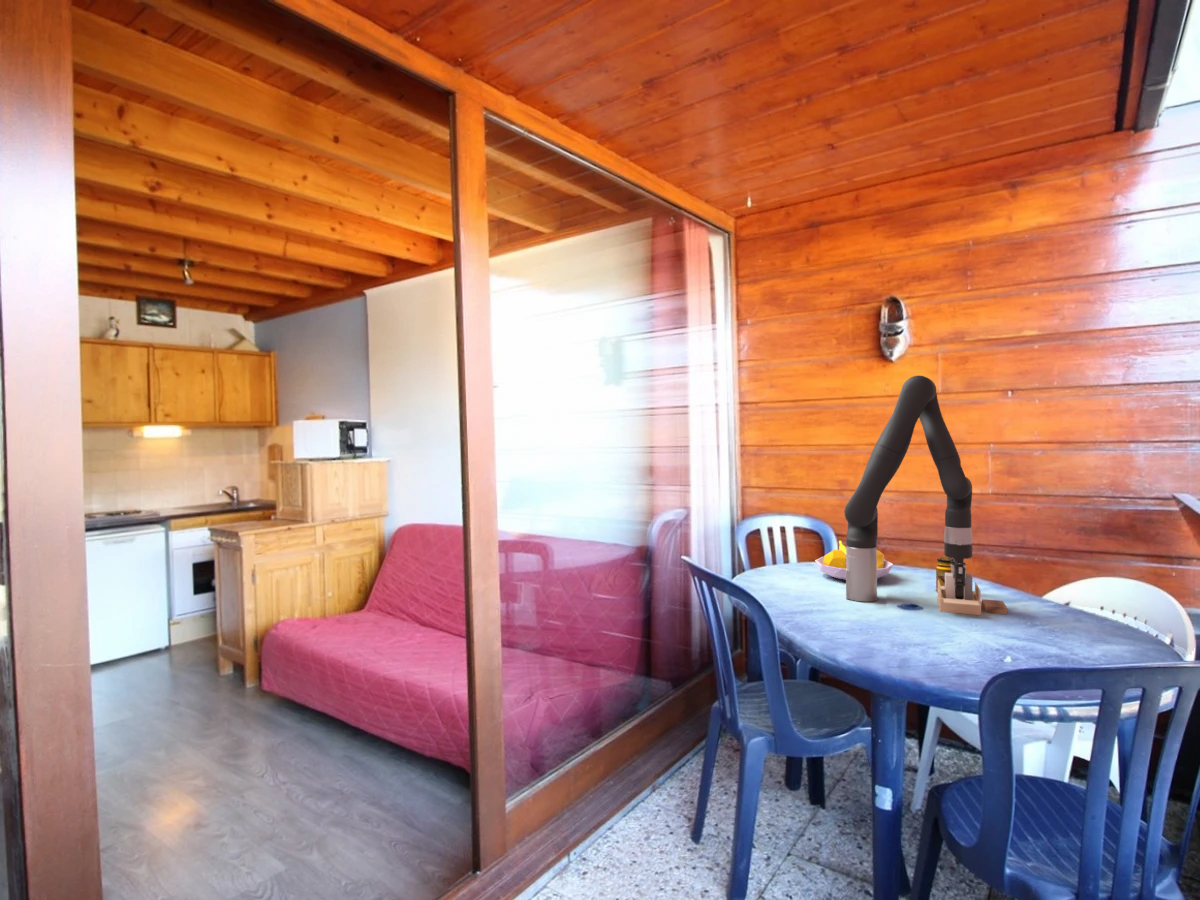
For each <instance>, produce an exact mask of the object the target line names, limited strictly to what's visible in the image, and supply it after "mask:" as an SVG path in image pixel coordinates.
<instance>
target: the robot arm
mask: <svg viewBox="0 0 1200 900" xmlns="http://www.w3.org/2000/svg"><path fill="white" fill-rule="evenodd" d="M918 420H919V421H920V424H921V427H922V428H923V433H924V436H925V439H926V440H925V441H926V443H927V447H928V450H929V452H930V455H931V458H932V461H933V462H934V463H933V464H934V465H935V467H936V470H937V472H938V478H939V480H940V485H941V487H942V490H943V491H944V494H945V495H946V509H945V512H944V533H943V541H944V543H943V544H944V546H943V547H944V549H943V550H944V551H943V554H944V556H945V558H953V559H952V560H951V561H952V562H951V564H950V565H951V573H953V579H955V584H954V585H955V598H956V599H964V586H965V578H966V574H967V573H966V572H967V564H966V562H964V560H965V559H972V558H973V555H974V554H973V531H972V512H971V511H972V509H971V508H972V501H973V500H972V499H973V484H972V482H971V480H970V479H969V478H968V477H967V476H966V474H965V472H964V470H963V467H962V464H961V463H962V462H961V457H960V454H959V452H958V450H957V447H956V444H955V442H954V440H953V438H952V436H951V433H950V432H949V430H948V427H947V425H946V423H945V420H944V417H943V414H942V411H941V408H940V405H939V400H938V393H937V386H936V384H935V382H934V381H933V380H931V379H930V378H929V377H927V376H924V375H913V376H911V377H909V378H908V379H907V380H906V381H905V382H904V383H903V384H902V386H901V390H900V393H899V395H898V399H897V401H896V404H895V407H894V409H893V411H892V414H891V416H890V418H889V420H888V422H887V423H886V424H885V426H884V428H883V430H882V432H881V433H880V434H879V437H878V439H877V440H876V442H875V445H874V446H873V448H872V451H871V453H870V457H869V458H868V461H867V463H866V467H865V469H864V471H863V474H862V477H861V480H860V482H859V483H858V485H857V487H856V489H855V491H854V492H853V494H852V496H851V497H850V499H849V500H848V502H847V503H846V504H845V507H844V518H845V520H846V521H847V533H846V539H845V541H846V542H845V545H846V566H847V569H846V580H845V595H846V596H845V599H846V600H851V601H856V602H875V601H877V600H878V579H877V550H878V549H877V545H878V544H877V543H878V535H879V533H878V529H879V528H878V527H879V526H878V522H879V521H878V520H879V519H878V518H879V517H878V505H879V504H878V503H879V502H880V499H881V497H882V494H883V492H884V491H885V489H886V487H887V486H888V485H889V483H890V482H891V481H892V479H893V477H894V476H895V475H896V473H897V471H898V470H899V468H900V466H901V464H902V463H903V460H904V458H905V456H906V454H907V452H908V450H909V447H910V444H911V442H912V438H913V434H914V430H915V426H916V425H917V422H918ZM958 579H962V582H958Z"/></svg>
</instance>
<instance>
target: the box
mask: <svg viewBox="0 0 1200 900" xmlns="http://www.w3.org/2000/svg"><path fill="white" fill-rule="evenodd" d="M958 582H962V579H958ZM954 584H955V579H953V573H945V598H948V599H956V598H955V585H954ZM972 590H973V576H972V575H971V574H969V573H966V578H965V586H964V599H961V600H972Z"/></svg>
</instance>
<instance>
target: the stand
mask: <svg viewBox="0 0 1200 900" xmlns="http://www.w3.org/2000/svg"><path fill="white" fill-rule="evenodd" d="M981 608H983V610H984V613H986V614H999V615H1000V614H1001V615H1007V614H1008V608H1007V605H1006V604H1005V602H1004V601H1003V600H1000V599H999V600H998V599H983V598H982V599H981Z"/></svg>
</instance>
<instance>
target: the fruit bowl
mask: <svg viewBox="0 0 1200 900" xmlns="http://www.w3.org/2000/svg"><path fill="white" fill-rule="evenodd" d="M838 543H839V545H838V546H839V547H838V549H832V550H831V551H830V552H828V553H827V554H825V555H824V556H821V557H819V558H818V559H815V560H814V561H815V563H816V565H817V567H818V569H819V570H820V572H822V573H824V574H825V575H827V576H830V577H832V578H833V577H834V579H837V578H838V580H842V579H843V581H846V569H847V566H846V546H845V545H844V544H843V541H842V540H838ZM893 566H894V564H893V563H892V562H890V561H888V560H886V559H885V555H884V553H882V552H881V551H880V550H878V549H877V580H878V579H880V578H882V577H885V576H888V575H889V573H890V571H891V570H892V567H893Z"/></svg>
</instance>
